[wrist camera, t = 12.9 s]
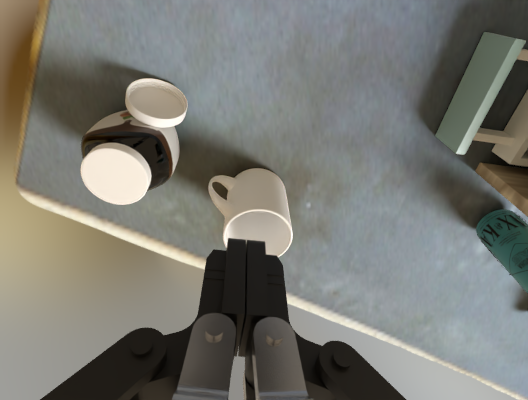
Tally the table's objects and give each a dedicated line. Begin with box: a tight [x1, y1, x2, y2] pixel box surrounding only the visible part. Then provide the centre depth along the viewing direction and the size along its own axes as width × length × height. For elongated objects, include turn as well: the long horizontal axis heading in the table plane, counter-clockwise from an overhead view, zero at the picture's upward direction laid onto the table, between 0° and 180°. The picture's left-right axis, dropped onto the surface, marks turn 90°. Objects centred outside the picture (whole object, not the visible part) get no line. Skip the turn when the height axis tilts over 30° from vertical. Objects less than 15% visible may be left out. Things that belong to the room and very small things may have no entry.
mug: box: [208, 168, 293, 257], centre depth 45 cm, size 9×12×11 cm
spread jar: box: [81, 78, 188, 205], centre depth 38 cm, size 12×11×12 cm
